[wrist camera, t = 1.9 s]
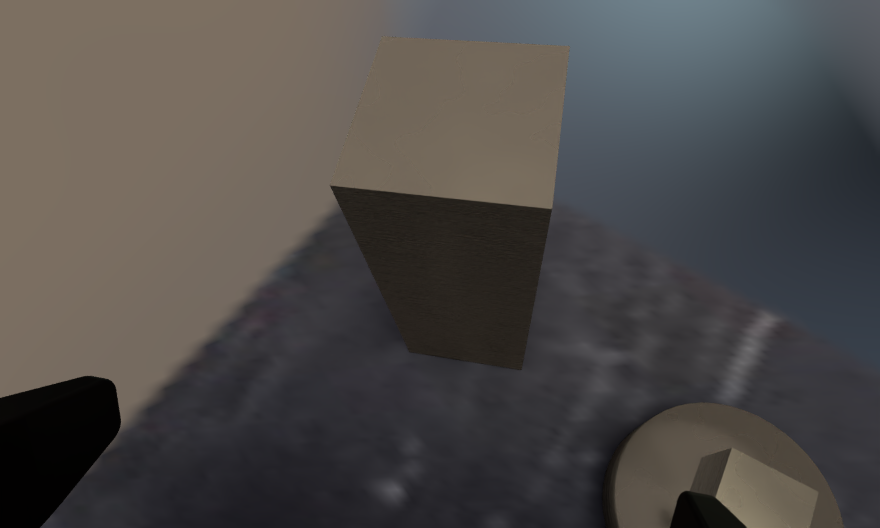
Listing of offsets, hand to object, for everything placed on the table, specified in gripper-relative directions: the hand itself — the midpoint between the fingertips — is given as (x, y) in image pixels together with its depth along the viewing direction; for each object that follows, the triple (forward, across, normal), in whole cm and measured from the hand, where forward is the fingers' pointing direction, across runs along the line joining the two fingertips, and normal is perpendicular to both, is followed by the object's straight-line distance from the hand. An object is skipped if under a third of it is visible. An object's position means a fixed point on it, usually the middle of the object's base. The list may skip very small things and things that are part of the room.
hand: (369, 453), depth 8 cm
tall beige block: (+15, 0, +4) cm, 16 cm away
